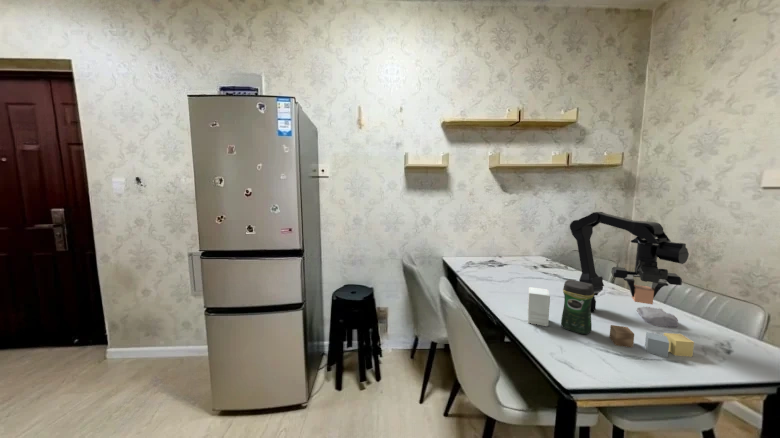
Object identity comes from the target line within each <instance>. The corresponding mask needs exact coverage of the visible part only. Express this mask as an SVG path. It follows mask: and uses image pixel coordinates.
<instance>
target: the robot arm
mask: <svg viewBox="0 0 780 438" xmlns="http://www.w3.org/2000/svg"><path fill="white" fill-rule="evenodd" d="M600 223H601V224H604V225H607V226H610V227H613V228H616V229H617V228H618V229H621V230H625V231H626V232H629V233H630V234H632V235H633V236H634V238H633V239H632V240H630V243H633V244H637V245H636V254H635V264H634V271H633V270H627V269H626V267H620V266H619V267H618V266H613V267H611V272H610V273H611V275H612V276H613V278H618V279H622V280H623V281H626V283H627V285H628V289H629V291H630V295H631V298H632V297H634V285H635V279H634V277H635V278H640V280H641V282H644V283H647V282H648V283H649V282H650V283H651V288H652V289H653V290H654V297H653V299H654V298H655V297H656V295H658V293H659V291H660V290H661V289H662V288H663V287H669V285H672V286H673V285H674V286H682V283H683V281H682V277H681V276H680V275H678V274H676V273H674V272H673V273H672V272H669V271H668V269H665V268H659V267H658V259H659V260H661V261H665V262H671V263H676V264H679V265H680V264H681V265H683V264H685V263H687V260H688V259H689V255H690V254H689V249H688V248H687V246H686V243H684V242H673V241H671V239H670V238H669V237H668V235H667V234H666V232H665V231H664V228H663V226H662V224H661V223H659V222H655V221H654V222H653V221H645V220H634V219H629V218H625V217H620V216H616V215H613V214H609V213H605V212H603V211H595V212H592V213H590V214H588V215H586V216H584V217H581V218H579V219H575V220H572V221H571V222H570V223H569V229H570V233H571V235H572V236H573V238H574V239H575V240H576V244H577V251H578V257H579V262H580V270H581V275H580V278H579V280H578V281H580V282H585V283H590V284H593V288H594V296H593V298H592V300H591V313H595V310H596V304H597V300H596V297H595V296H598V295H599V293H601V292H602V291H603V289H604V287H605V285H604V281H603V280H604V279H603V276H599V275H598V274H597V272H596V267H595V261H594V255H593V250H592V245H591V244H592V243H591V238H592V235H593V232H594V231H593V230H594V228H595V227H597V226H598V225H599V224H600Z"/></svg>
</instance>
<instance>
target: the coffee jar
mask: <svg viewBox="0 0 780 438" xmlns="http://www.w3.org/2000/svg"><path fill="white" fill-rule="evenodd" d="M562 291H563V296H564V297H563V298H564V301H563V309H562V313H561V318H560V319H561V320H560V326H561V327H562V328H563V329H565V330H567V331H570V332H573V333H577V334H581V335H582V334H583V335H588V334H589V333H591V332H592V325H593V324H592V312H591V300H592V298H593V296H594V288H593V284H590V283H585V282H580V281H579V280H574V279H567V280H565V282H564V284H563V288H562ZM594 297H595V296H594Z"/></svg>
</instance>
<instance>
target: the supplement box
mask: <svg viewBox="0 0 780 438" xmlns="http://www.w3.org/2000/svg"><path fill="white" fill-rule="evenodd" d="M527 300H528V302H527V315H526V316H527V324H530V323H531V324H532V325H536V324H537V326H541V327H542V326H544V327H549V319H550V307H551V306H550V303H551V294H550V292H549V289H545V288H539V287H532V286H531V287H530V286H529V287H528V299H527Z"/></svg>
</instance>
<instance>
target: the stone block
mask: <svg viewBox="0 0 780 438" xmlns="http://www.w3.org/2000/svg"><path fill="white" fill-rule="evenodd" d="M636 312H637V313H638V314H639V316H640V317H641V319H643V321H644V322H645V323H648V324H650V325H652V326H656V327H665V326H666V327H668V326H669V328H670V327H671V328H674V327H675V328H677V327H678V325H679V320H678V317H676V316H675V315H674V314H672V313H669V312H666V311H664V310H663V309H662V308H660V307H659V308H658V307H651V306H640V307H637V308H636Z"/></svg>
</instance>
